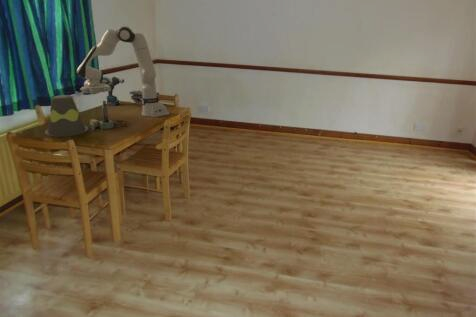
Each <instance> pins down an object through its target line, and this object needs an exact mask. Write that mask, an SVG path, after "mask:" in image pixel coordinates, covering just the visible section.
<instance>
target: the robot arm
mask: <svg viewBox="0 0 476 317" xmlns="http://www.w3.org/2000/svg"><path fill="white" fill-rule="evenodd" d="M120 41H121V42H123V43H131V45H132V49H133V52H134V54H135V59H136V61H137V64H138V68H139V70H140V71H139V73H140V83H141V91H142V99H141V100H142V104H143V105H142V110H141V111H142V112H141V116H144V117H150V118H151V117H152V118H156V117H161V116H166V115H170V112H169V110H167V107H166V105H165V104H163V103H162V102H161V100H162V99H161V97H159V96H158V97H156V92H157V85H156V79H157V78H156V77H157V72H156V68H155V64H154V62H153V58H152V55H151V52H150V49H149V45H148V42H147V39H146V37H145V36H144V34H143V33H140V32H136V33H135V32H134V31H133V30H132V29H131V28H130V27H129V26H127V25H124V26H121V27H119V28H118V29H116V30H115V29H112V28H111V29H109V28H108V29H107V30H106V31H105V32H104V34H103V35H102V37H101V40H100V42H99V43H98V44H97V45H94V46H92V47H91V49H90V50H89V51H88V52H87V54H86V56H85V58H83V61H81V63H80V65H79V66H78V67H77V69H76V73H77V76H78V77H79V78H82V79H86V80H85V81H84V82H83V86H82V87H81V88H79V90H80V91H81V92H82V94H89V93H90V94H93V95H96V94H97V95H98V94H101V93H105V92H108V91H111V88H110V86H109V85H107V84H105V83H101V82H102V80H103V77H104V75H103V72H102V70H100V69H97V68H95V67H92V66H89V65H90V64H91V62H92V61H93V59H94V58H95V57H96V56H98V57H99V56H104V57H108V56H110V55H113V53H114V51H115V49H116V47H117V44H118V43H119V42H120Z"/></svg>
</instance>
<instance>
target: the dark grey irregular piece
mask: <svg viewBox="0 0 476 317" xmlns="http://www.w3.org/2000/svg"><path fill="white" fill-rule="evenodd" d="M129 95H130V98H131V100H132V101H133V102H134V103H135V104H136V105H137V106H143V104H142V90H132V91H129ZM159 95H160V92H157V91H156V97H158V98H159Z"/></svg>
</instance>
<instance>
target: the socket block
mask: <svg viewBox="0 0 476 317" xmlns="http://www.w3.org/2000/svg"><path fill="white" fill-rule="evenodd" d="M108 120H109V122H107V123H104V120H97V121H98V123H99V127H98V128H100V129H101V130H106V129H113V128H114V127H115V126H114V125H113V120H111V119H108ZM88 123H89V129H91V130H92V131H96V127H94V124H93V123H92V122H90V121H89V122H88Z"/></svg>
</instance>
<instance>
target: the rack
mask: <svg viewBox="0 0 476 317" xmlns="http://www.w3.org/2000/svg"><path fill="white" fill-rule="evenodd" d="M112 122H113V125H114V127H115V128H121V127H128V122H127V121H126V120H125V119H116V120H112Z"/></svg>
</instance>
